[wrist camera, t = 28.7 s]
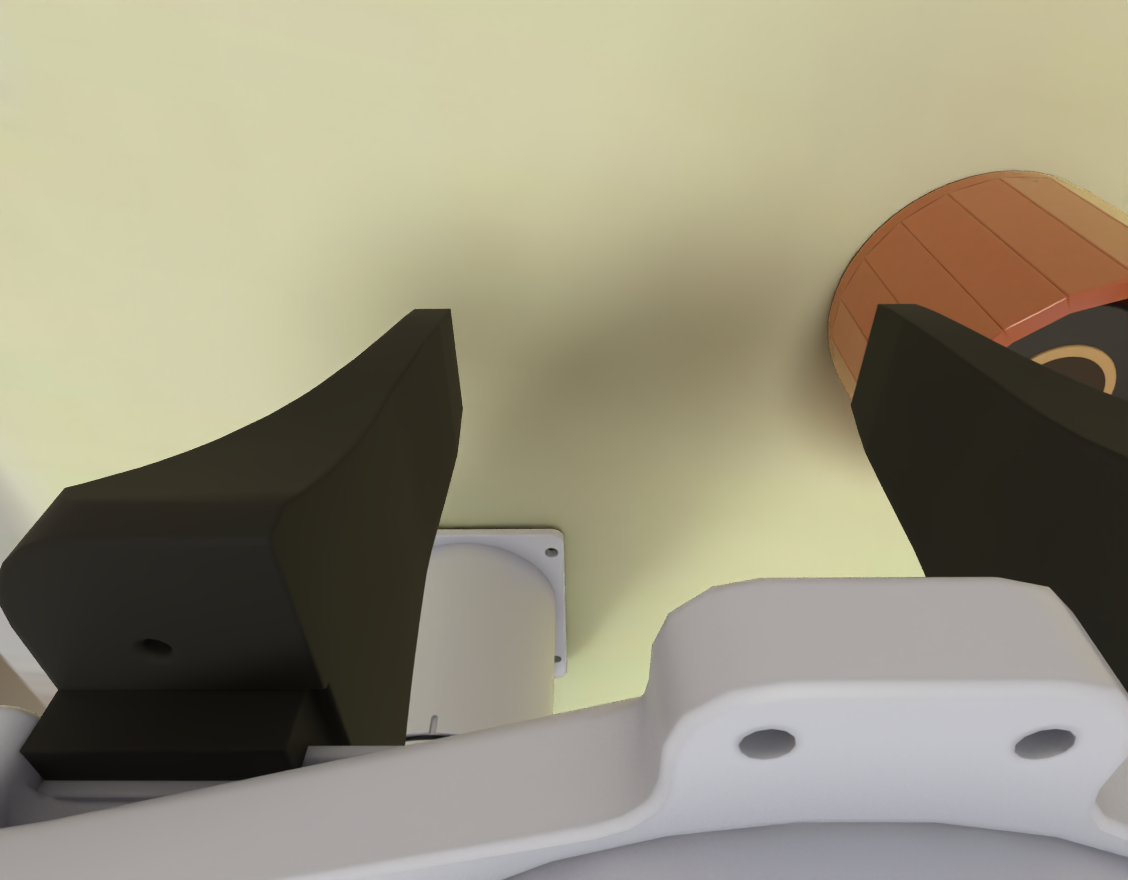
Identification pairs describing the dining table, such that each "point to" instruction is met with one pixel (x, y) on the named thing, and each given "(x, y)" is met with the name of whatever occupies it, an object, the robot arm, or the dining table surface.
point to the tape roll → (1085, 347)
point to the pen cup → (985, 261)
